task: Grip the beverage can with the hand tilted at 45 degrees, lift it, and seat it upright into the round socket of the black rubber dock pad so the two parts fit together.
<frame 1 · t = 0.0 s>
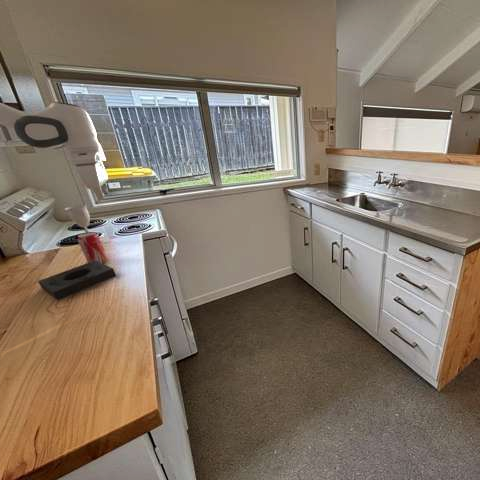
hand: (103, 196, 92), 26 cm above the countertop, tool pointing down, fingers open, 8 cm apart
chalice: (92, 244, 119), on the countertop
beverage can: (99, 262, 102), on the countertop
dock pad: (80, 281, 88), on the countertop
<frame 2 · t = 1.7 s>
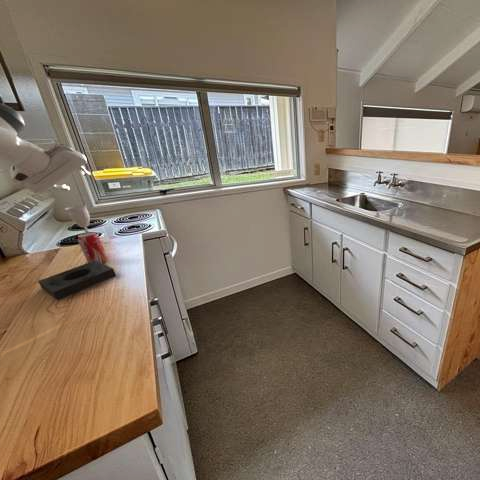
hand: (78, 182, 97), 30 cm above the countertop, tool tilted 45°, fingers open, 8 cm apart
nothing on the countertop moved.
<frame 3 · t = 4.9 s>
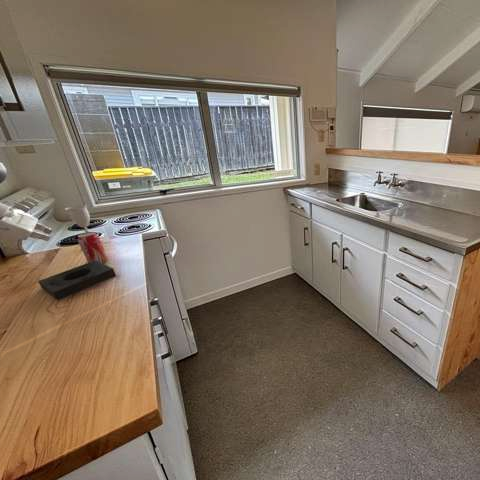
hand: (50, 235, 91), 14 cm above the countertop, tool tilted 45°, fingers open, 8 cm apart
nothing on the countertop moved.
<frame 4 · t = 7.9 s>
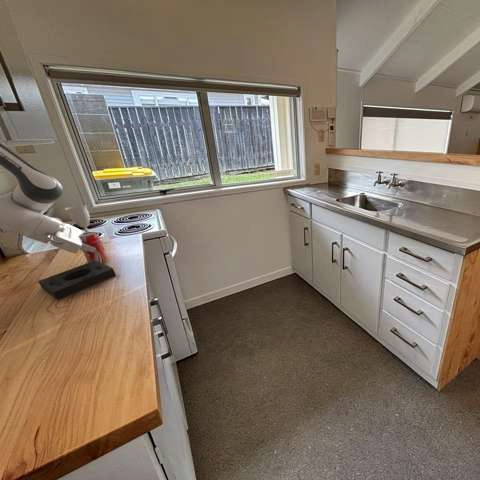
hand: (94, 247, 100), 6 cm above the countertop, tool tilted 45°, fingers closed on beverage can, 6 cm apart
beverage can: (99, 262, 102), on the countertop, touching gripper
everything else where it was.
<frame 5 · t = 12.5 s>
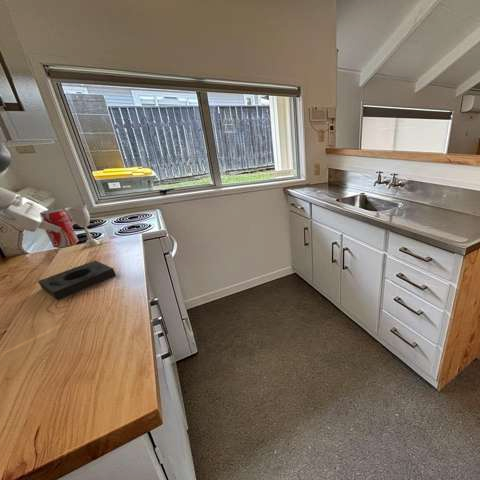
hand: (61, 227, 83), 19 cm above the countertop, tool tilted 45°, fingers closed on beverage can, 6 cm apart
beverage can: (67, 246, 85), point 13 cm above the countertop, touching gripper
everything else where it was.
when the fingers open (6 cm above the countertop, at t = 17.0 s): beverage can stays where it is, resting in dock pad.
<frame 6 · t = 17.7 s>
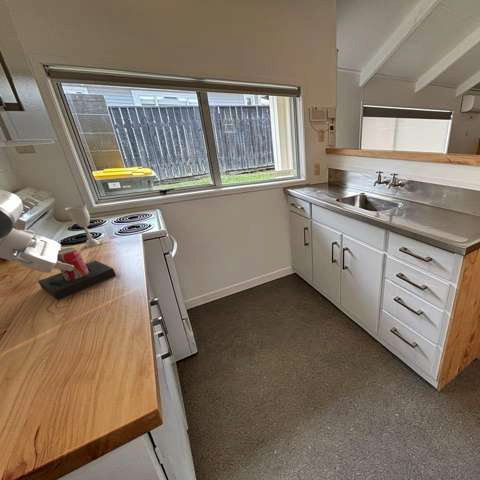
hand: (74, 263, 86), 7 cm above the countertop, tool tilted 45°, fingers open, 8 cm apart
beverage can: (80, 282, 88), resting in dock pad
everything else where it was.
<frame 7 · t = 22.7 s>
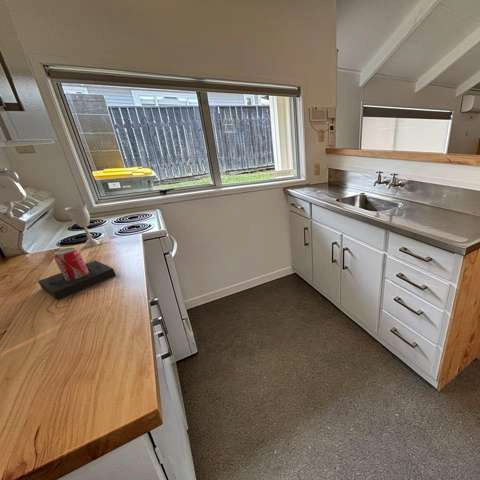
nothing on the countertop moved.
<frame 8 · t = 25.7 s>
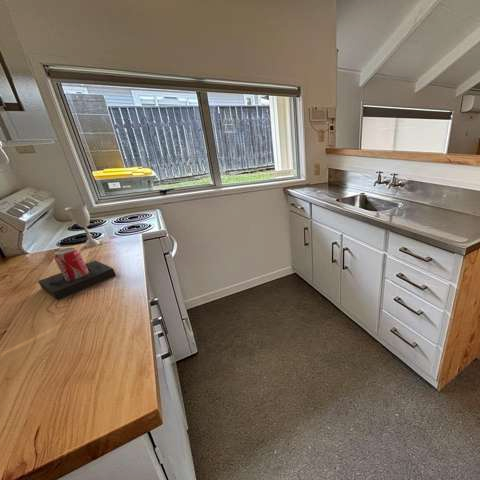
nothing on the countertop moved.
at the end: beverage can 0.2 cm off-centre in the dock pad, point 0.0 cm above the dock pad's base; beverage can tilted 0°; the gripper is holding nothing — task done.
